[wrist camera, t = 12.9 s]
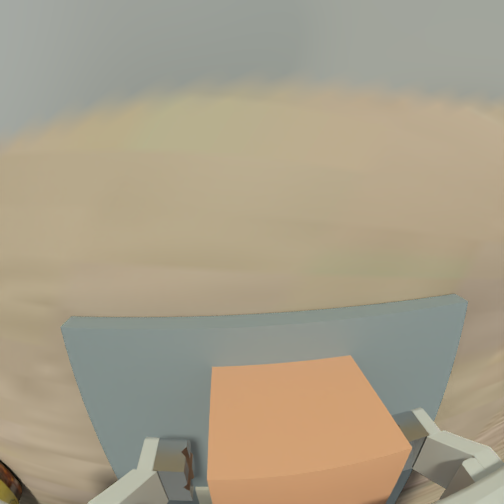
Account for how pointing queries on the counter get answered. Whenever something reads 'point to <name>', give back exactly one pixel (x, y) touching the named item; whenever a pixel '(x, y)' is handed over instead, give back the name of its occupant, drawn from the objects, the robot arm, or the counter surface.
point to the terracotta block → (301, 435)
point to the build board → (249, 353)
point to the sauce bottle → (9, 486)
